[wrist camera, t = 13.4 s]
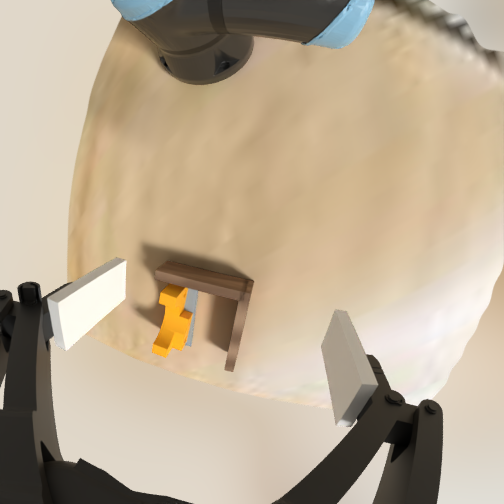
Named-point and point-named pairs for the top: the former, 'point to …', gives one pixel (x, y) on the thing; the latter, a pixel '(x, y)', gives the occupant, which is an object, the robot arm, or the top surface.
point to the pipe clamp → (173, 320)
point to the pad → (191, 307)
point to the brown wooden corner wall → (215, 286)
